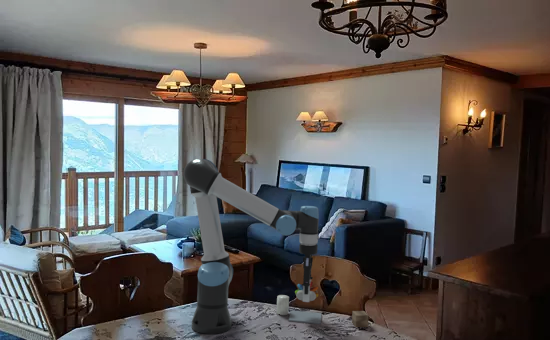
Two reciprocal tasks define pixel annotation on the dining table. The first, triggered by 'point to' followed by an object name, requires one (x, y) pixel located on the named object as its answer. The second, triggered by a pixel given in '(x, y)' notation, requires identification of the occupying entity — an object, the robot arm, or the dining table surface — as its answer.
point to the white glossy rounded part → (282, 304)
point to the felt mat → (305, 317)
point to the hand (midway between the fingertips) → (306, 298)
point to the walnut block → (360, 318)
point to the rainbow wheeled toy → (312, 292)
